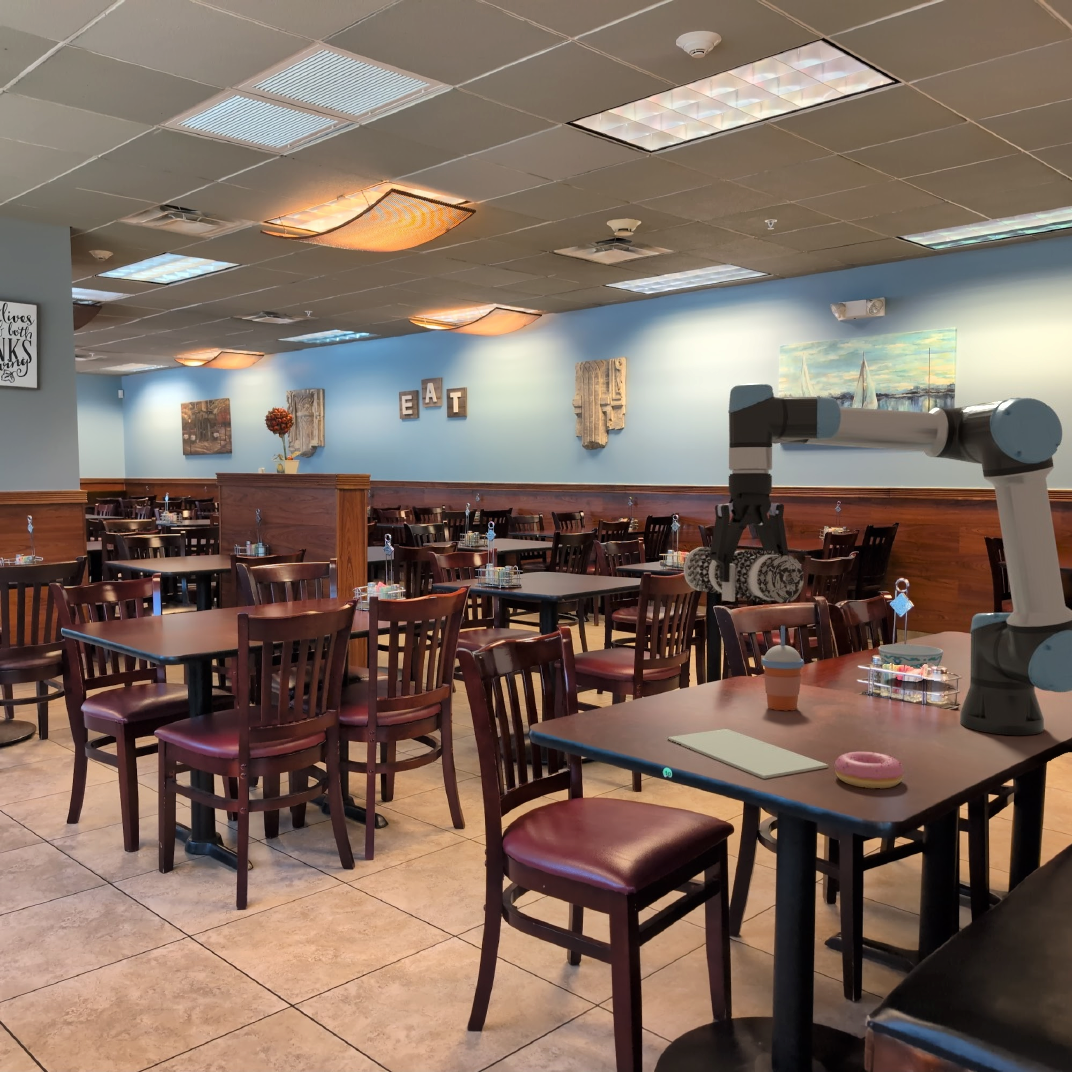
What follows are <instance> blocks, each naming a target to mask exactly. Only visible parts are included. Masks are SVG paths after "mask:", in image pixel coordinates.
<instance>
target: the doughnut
mask: <svg viewBox="0 0 1072 1072" xmlns="http://www.w3.org/2000/svg"><path fill="white" fill-rule="evenodd" d="M903 765H904V764H903V763H901V762H900V761H899V759H898V758H896V757H893V756H891V755H888V754H885V753H881V752H880V753H879V752H875V751H851V752H845V753H842V754H840V755H839V756H838V757H837V759H836V760H834V766H833V767H834V771H835V772H834V773H835V774H836V776H837V777H838V779H839V780H841V781H842V782H843V783H845V784H848V785H850V786H854V787H858V788H863V787H865V788H864V789H875V788H880V789H888V788H893V787H895V786H897V785H899V784H900V783H901V782H902V781H903V779H904V774H905V769H904V767H903Z"/></svg>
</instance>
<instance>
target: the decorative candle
mask: <svg viewBox="0 0 1072 1072" xmlns="http://www.w3.org/2000/svg"><path fill="white" fill-rule="evenodd" d="M710 550H711V546H710V547H708V546H700V547H696V548H695V549H693V550H691V551H690V553H688V554H687V557H685V561H684V564H683V575H684V579H685V581H686V582H685V583H687V584H688V586H689V587H690V588H691V589H694V590H695V591H698V592H699V591H700V592H702V591H704V592H705V593H708V592H710V593H712V594H713V593H715V594H718V595H719V594H721V595H722V582H720V579H719V563H716V561H715V560H711V559H710V557H709V556H710ZM770 554H771V555H770ZM730 564H735V597H737V598H740V599H745V598H746V600H748V601H751V600H752V601H754V602H758V601H759V602H760V603H762V604H764V603H766V604H770V603H772V602H774V601H776V602H778V603H780V604H786V603H787V604H788V603H791V602H792V601H794V600H795V599H797V597H798V596H799V594H800V593H801V591H802V589H803V587H804V582H805V581H804V576H805V575H804V570H803V568H802V565H801V563H800V562H799V561H798V559H797V558H795V557H793V556H792V555H788V556H781V554H775V552H774V551H772V550H771V551H765V550H763V549H762V550H761V549H759V550H753V549H751V550H749V549H745V550H736V551H735V554H734V556H733V559H732V562H731V563H730Z"/></svg>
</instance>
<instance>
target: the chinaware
mask: <svg viewBox="0 0 1072 1072" xmlns="http://www.w3.org/2000/svg"><path fill="white" fill-rule="evenodd" d="M878 653H879V657H880V659H881V662H882V664H883V665H884V664H890V663H892V664H894V665H904V664H905V665H907V666H910V667H913V668H920V667H922V666H923V665H924V664H927V663H932V664H934V665H935V666H937V668H938V667H939V665H940V664H941V660H942V658H943V654H944V650H943V649H941V648H938V647H935V646H931V645H930V646H929V645H922V644H921V645H920V644H911V643H910V644H908V643H907V644H906V643H905V644H904V643H900V644H899V643H895V644H894V643H893V644H885V645H880V646H879V647H878Z"/></svg>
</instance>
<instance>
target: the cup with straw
mask: <svg viewBox="0 0 1072 1072" xmlns="http://www.w3.org/2000/svg"><path fill="white" fill-rule="evenodd" d="M804 660H805V659H802V658H801V655H800V653H799V652H798V651H797V650H796V649H795V648H794V647H792V646H789V645H786V626H785V625H781V626H780V644H778V645H775V646H772V647H771V648H770V649H768V651H766V653H765V655H764V657H762V658H761V660H760V661H761V662H760V663H761V666H763V667H764V672H763V677H764V678H763V679H764V688H765V689H764V690H765V694H766V701H767V708H768V709H770V710H773V709H774V710H773V711H779V710H784V711H783V712H786V711H787V712H789V711H788V710H791V711H795V710H797V707H798V701H799V700H798V699H799V695H800V691H801V689H800V688H801V679H802V674H801V671H802V668H803V667H804V666H805V661H804Z"/></svg>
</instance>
